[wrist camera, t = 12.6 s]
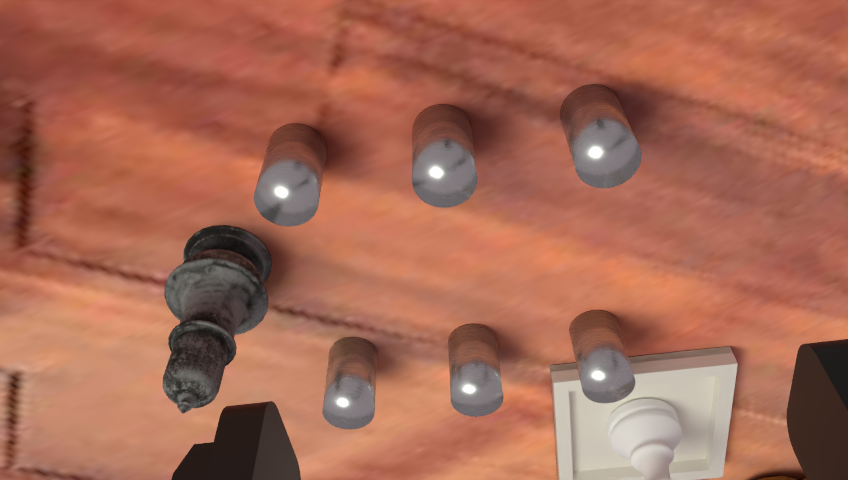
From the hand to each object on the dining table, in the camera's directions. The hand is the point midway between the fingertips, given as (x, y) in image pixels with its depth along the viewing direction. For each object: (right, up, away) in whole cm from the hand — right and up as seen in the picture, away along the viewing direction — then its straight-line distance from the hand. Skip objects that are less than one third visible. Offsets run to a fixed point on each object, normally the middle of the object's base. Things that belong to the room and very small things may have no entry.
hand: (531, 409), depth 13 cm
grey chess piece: (-14, +1, +37) cm, 39 cm away
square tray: (+14, -10, +45) cm, 48 cm away
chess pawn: (+14, -10, +45) cm, 48 cm away
